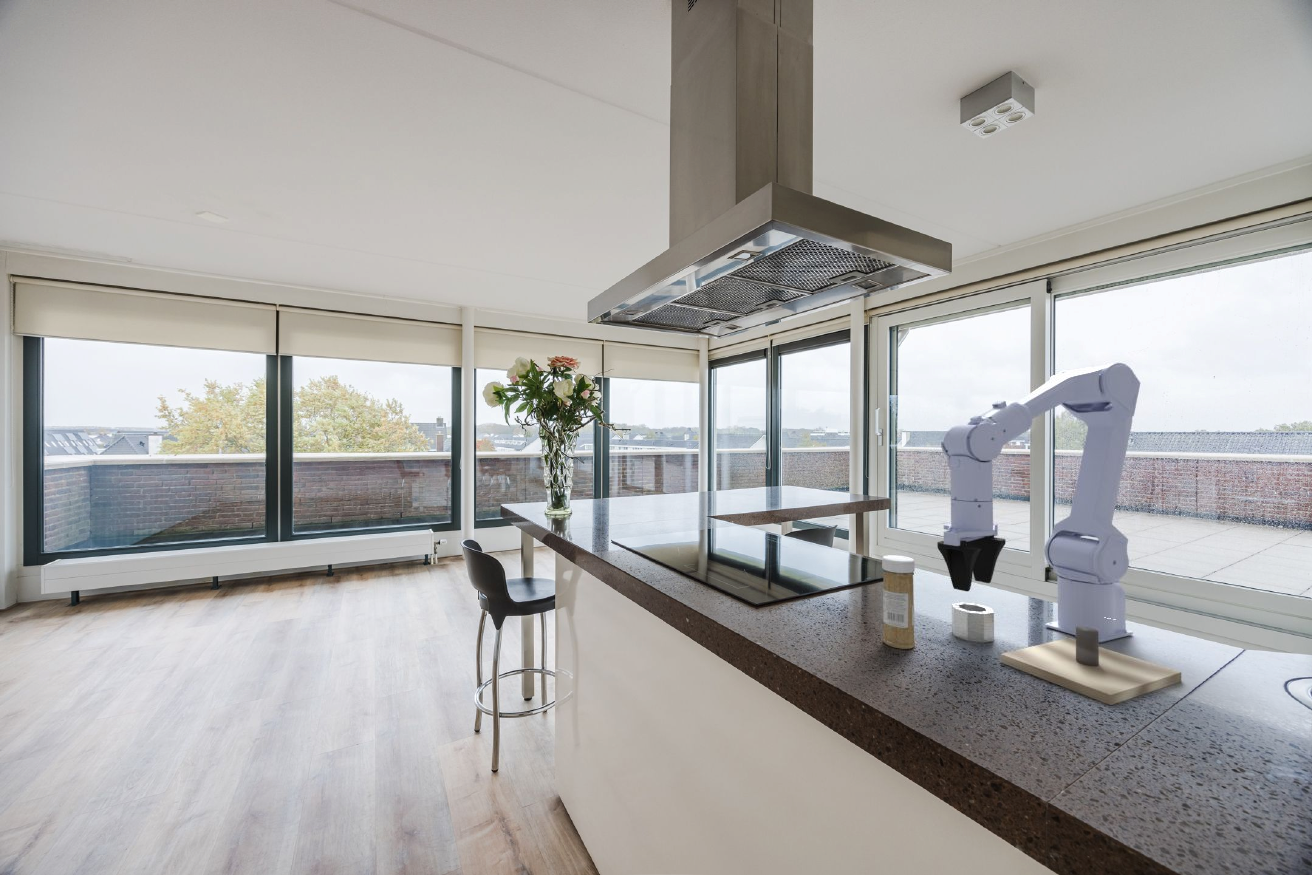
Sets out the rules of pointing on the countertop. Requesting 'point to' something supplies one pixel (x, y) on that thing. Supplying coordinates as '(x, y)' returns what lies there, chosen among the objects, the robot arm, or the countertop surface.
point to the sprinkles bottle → (898, 601)
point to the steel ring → (973, 622)
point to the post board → (1091, 668)
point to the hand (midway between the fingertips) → (972, 585)
